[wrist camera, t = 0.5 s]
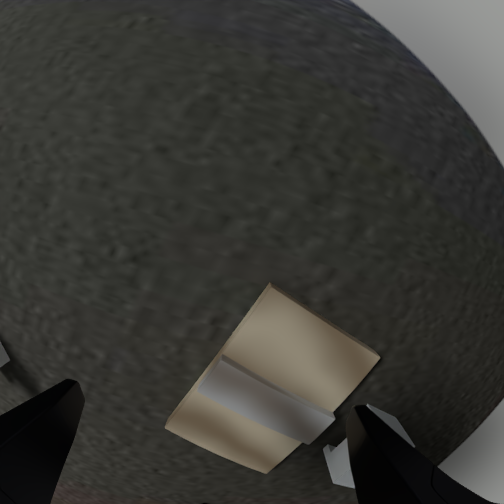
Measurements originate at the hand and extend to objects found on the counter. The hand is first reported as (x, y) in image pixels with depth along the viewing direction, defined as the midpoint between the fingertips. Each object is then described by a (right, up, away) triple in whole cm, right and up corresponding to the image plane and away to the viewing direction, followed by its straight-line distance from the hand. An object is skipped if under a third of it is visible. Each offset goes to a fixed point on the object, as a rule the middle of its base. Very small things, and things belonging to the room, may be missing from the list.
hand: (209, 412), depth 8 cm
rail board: (+3, -7, +15) cm, 17 cm away
